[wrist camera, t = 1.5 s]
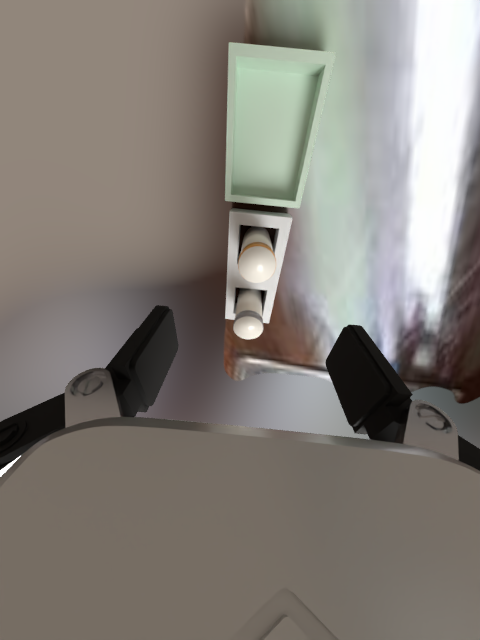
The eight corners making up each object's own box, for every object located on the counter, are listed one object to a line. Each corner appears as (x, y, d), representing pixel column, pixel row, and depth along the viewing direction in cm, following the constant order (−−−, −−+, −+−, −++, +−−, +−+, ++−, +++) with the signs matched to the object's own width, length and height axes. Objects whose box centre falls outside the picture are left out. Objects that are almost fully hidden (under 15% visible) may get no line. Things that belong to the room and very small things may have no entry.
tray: (232, 58, 16) (228, 42, 14) (326, 67, 16) (336, 52, 14) (227, 198, 22) (224, 201, 20) (295, 205, 22) (299, 208, 20)
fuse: (239, 280, 29) (234, 315, 22) (263, 283, 29) (265, 318, 22) (237, 301, 31) (232, 337, 24) (259, 303, 31) (260, 340, 24)
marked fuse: (244, 224, 24) (239, 243, 17) (272, 227, 24) (280, 248, 17) (241, 253, 26) (236, 281, 19) (267, 255, 26) (272, 285, 19)
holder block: (232, 207, 23) (229, 211, 20) (288, 213, 23) (292, 217, 20) (227, 308, 32) (225, 318, 30) (267, 312, 32) (268, 323, 30)
